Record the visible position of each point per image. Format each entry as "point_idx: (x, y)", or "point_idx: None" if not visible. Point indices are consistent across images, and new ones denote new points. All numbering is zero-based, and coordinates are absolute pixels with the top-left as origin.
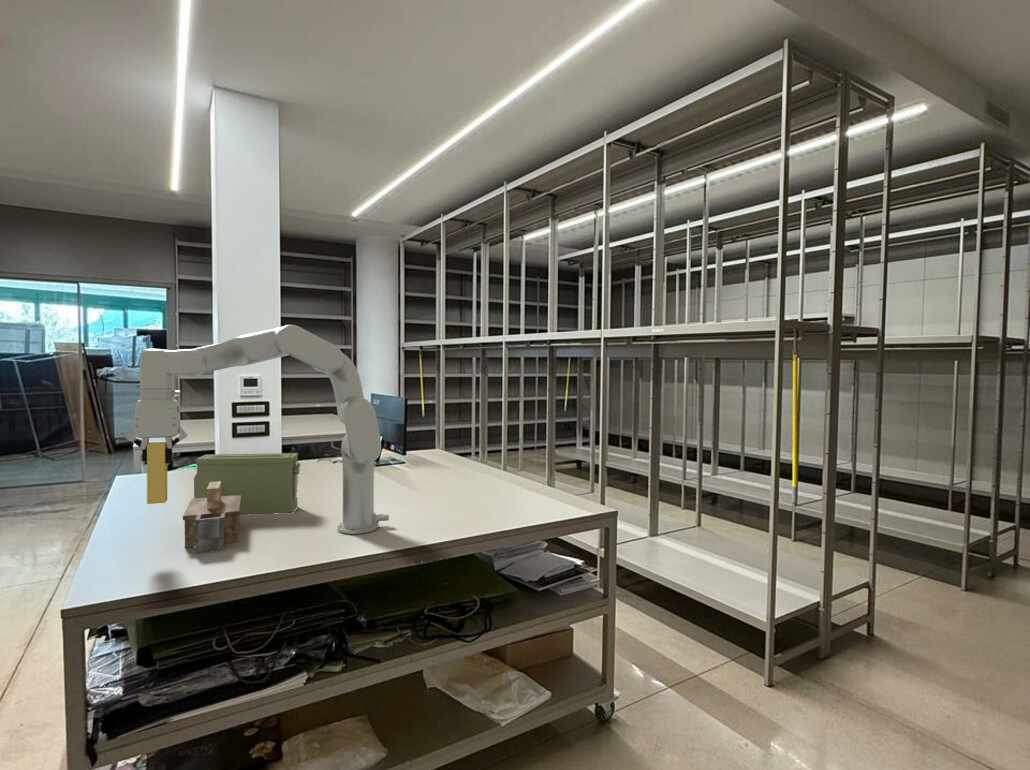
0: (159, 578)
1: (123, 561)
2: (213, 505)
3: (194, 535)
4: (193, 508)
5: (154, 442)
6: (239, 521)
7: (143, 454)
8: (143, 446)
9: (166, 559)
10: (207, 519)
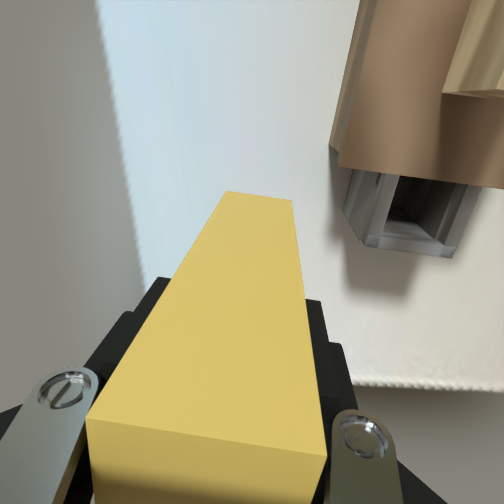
0: None
1: (194, 184)
2: (473, 95)
3: (352, 227)
4: (396, 43)
5: (161, 490)
6: None
7: None
8: (76, 482)
9: None
10: (401, 250)
